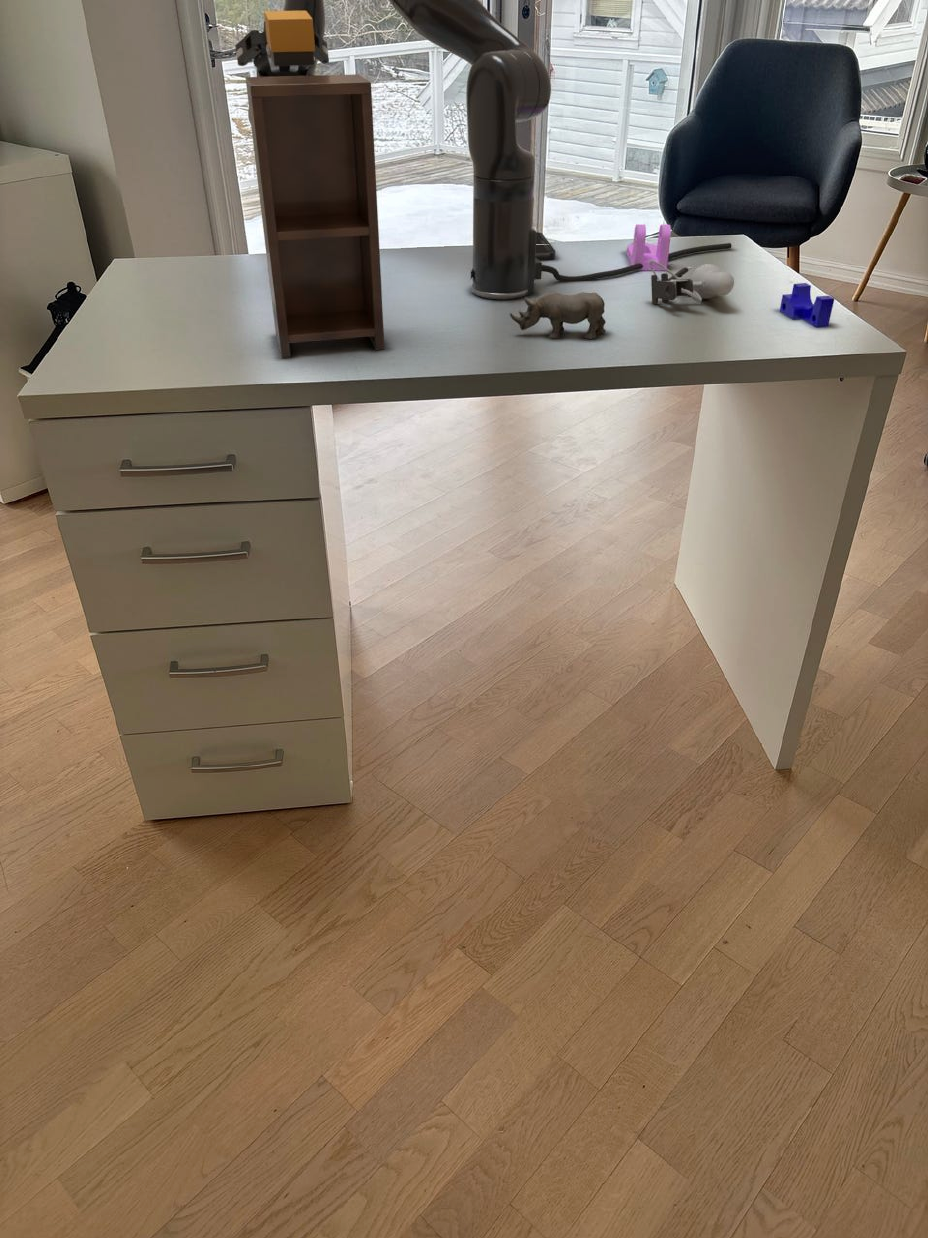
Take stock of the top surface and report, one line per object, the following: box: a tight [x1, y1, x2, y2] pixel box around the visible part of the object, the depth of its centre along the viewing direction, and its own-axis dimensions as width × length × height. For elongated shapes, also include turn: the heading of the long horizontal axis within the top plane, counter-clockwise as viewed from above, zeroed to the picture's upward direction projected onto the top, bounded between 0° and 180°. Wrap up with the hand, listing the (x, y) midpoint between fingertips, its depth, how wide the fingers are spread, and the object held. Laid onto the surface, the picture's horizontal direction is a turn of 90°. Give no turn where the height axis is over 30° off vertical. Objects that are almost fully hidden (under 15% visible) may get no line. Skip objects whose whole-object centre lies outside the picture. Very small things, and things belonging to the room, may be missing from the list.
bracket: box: [626, 224, 672, 271], centre depth 163 cm, size 13×6×7 cm, turn 179°
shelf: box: [245, 74, 385, 359], centre depth 121 cm, size 14×9×32 cm, turn 104°
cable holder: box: [779, 282, 835, 328], centre depth 138 cm, size 8×4×4 cm, turn 13°
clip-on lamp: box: [650, 260, 735, 305], centre depth 146 cm, size 12×6×18 cm
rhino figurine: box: [509, 291, 607, 340], centre depth 131 cm, size 4×14×6 cm, turn 89°
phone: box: [535, 231, 556, 261], centre depth 171 cm, size 8×1×15 cm
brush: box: [263, 10, 315, 66], centre depth 122 cm, size 5×18×5 cm, turn 13°
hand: (283, 23), depth 124 cm, fingers closed on brush, 2 cm apart
